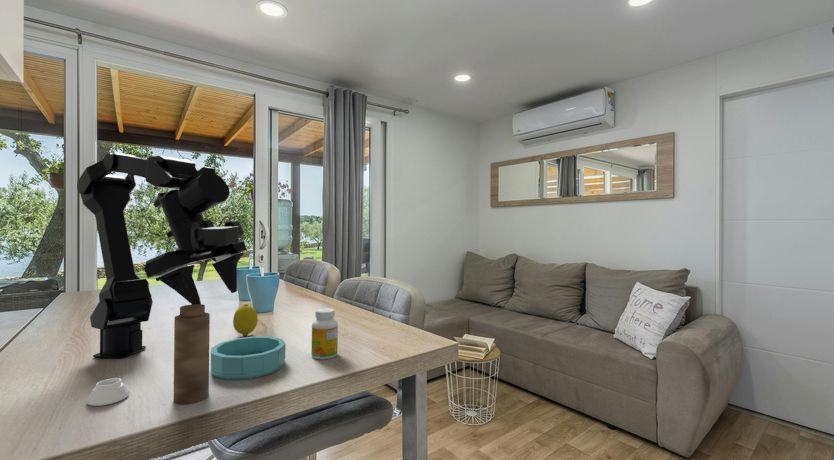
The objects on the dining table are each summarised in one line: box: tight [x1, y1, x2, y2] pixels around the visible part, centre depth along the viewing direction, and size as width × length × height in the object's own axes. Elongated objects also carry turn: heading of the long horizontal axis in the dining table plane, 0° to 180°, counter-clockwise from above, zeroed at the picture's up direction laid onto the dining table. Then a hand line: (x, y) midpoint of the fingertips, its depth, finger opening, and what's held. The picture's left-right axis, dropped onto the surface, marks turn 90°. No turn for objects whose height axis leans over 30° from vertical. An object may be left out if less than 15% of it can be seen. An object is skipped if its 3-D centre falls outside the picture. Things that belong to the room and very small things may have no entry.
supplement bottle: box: [311, 307, 339, 360], centre depth 80 cm, size 5×5×10 cm
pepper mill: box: [173, 303, 211, 405], centre depth 60 cm, size 5×5×14 cm
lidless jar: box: [86, 377, 130, 407], centre depth 59 cm, size 5×3×5 cm
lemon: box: [232, 303, 258, 337], centre depth 93 cm, size 6×6×8 cm
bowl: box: [210, 335, 286, 381], centre depth 73 cm, size 13×13×4 cm
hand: (217, 298), depth 71 cm, fingers open, 9 cm apart
